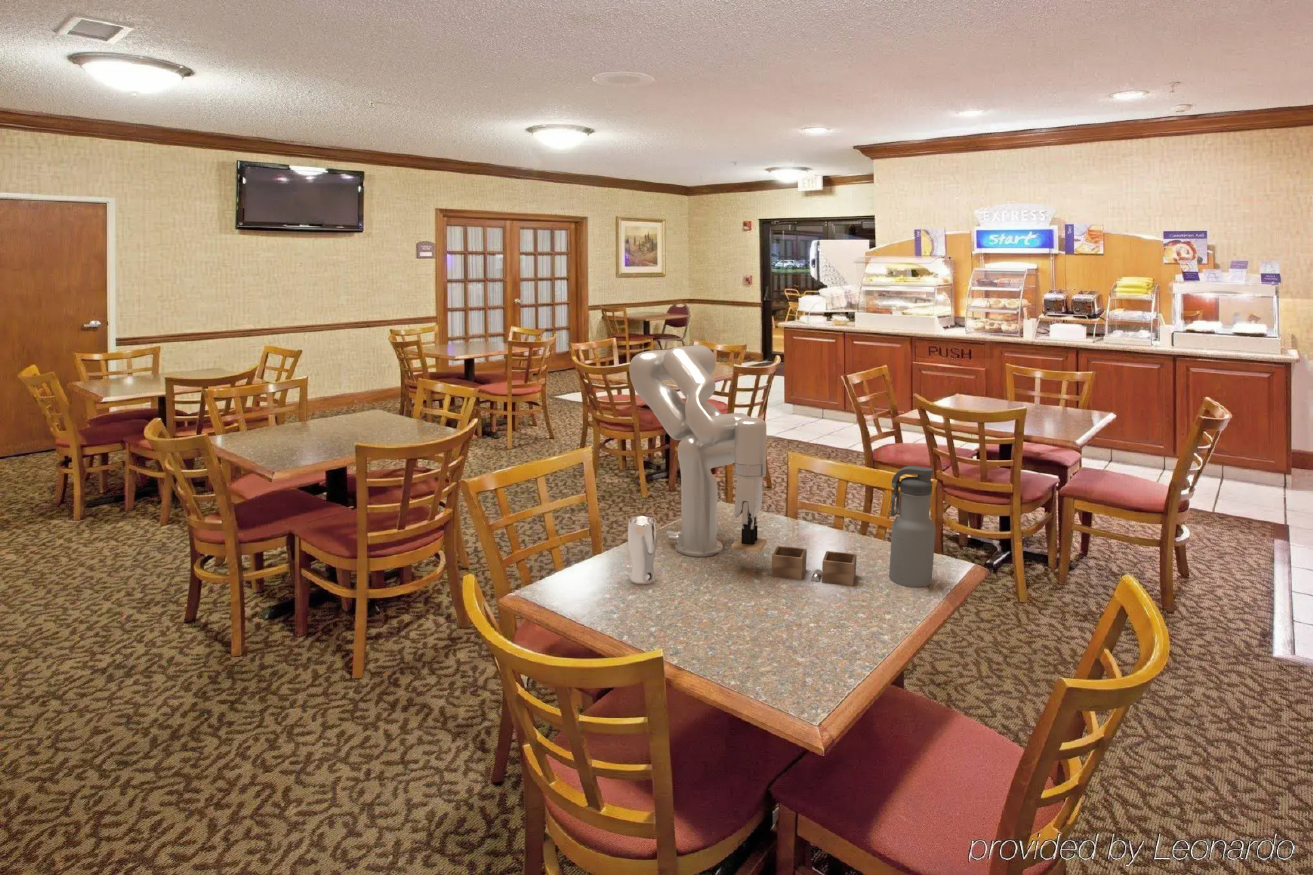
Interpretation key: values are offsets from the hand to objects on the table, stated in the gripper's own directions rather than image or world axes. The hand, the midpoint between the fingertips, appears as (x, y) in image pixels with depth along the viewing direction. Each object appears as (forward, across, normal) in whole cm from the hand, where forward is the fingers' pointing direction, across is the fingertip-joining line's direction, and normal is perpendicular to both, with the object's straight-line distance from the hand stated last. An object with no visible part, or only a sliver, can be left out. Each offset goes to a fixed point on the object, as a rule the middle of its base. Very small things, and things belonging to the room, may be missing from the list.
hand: (749, 541), depth 196 cm
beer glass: (+8, +13, -23) cm, 28 cm away
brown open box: (+8, -1, +10) cm, 13 cm away
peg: (+8, 0, +16) cm, 17 cm away
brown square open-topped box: (+8, -1, +22) cm, 23 cm away
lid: (+1, 0, 0) cm, 1 cm away
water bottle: (+9, -6, +38) cm, 39 cm away
